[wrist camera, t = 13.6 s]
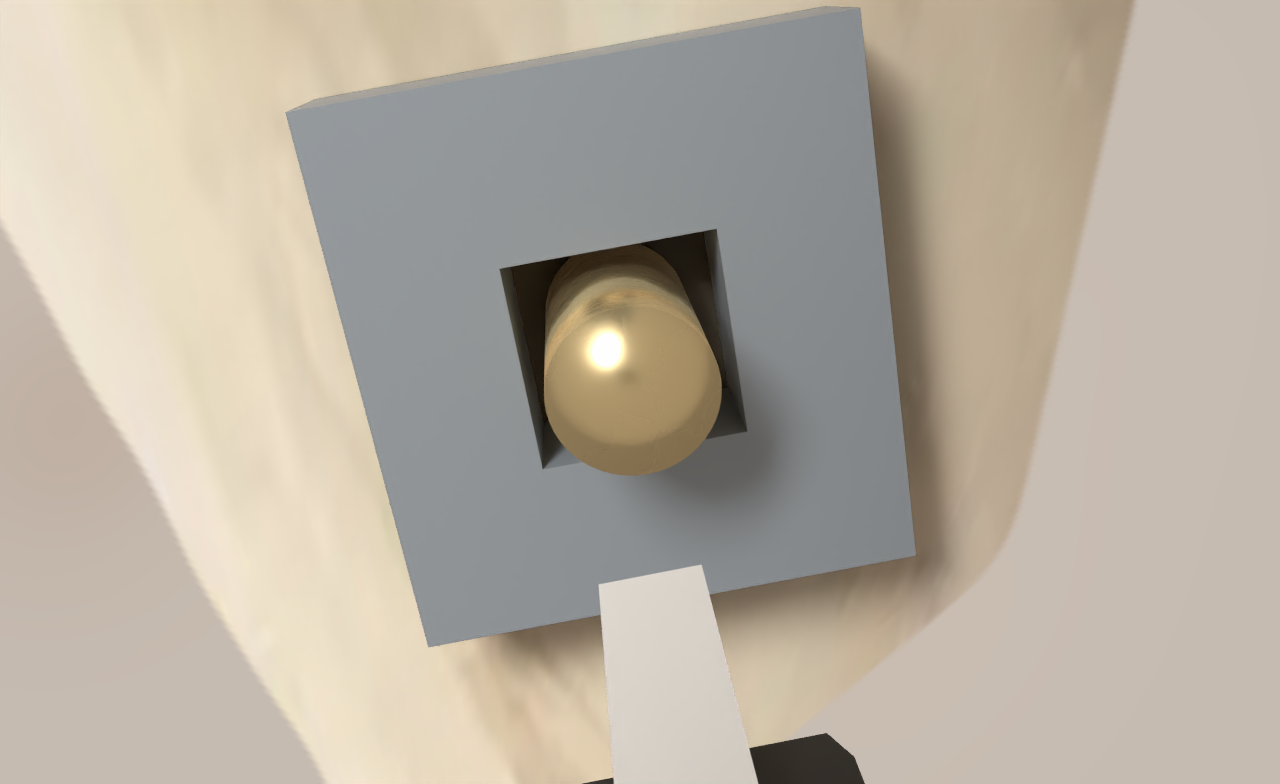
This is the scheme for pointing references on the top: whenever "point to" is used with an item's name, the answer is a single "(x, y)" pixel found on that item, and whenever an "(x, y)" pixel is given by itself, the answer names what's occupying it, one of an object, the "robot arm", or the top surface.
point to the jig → (601, 219)
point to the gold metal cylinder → (627, 363)
